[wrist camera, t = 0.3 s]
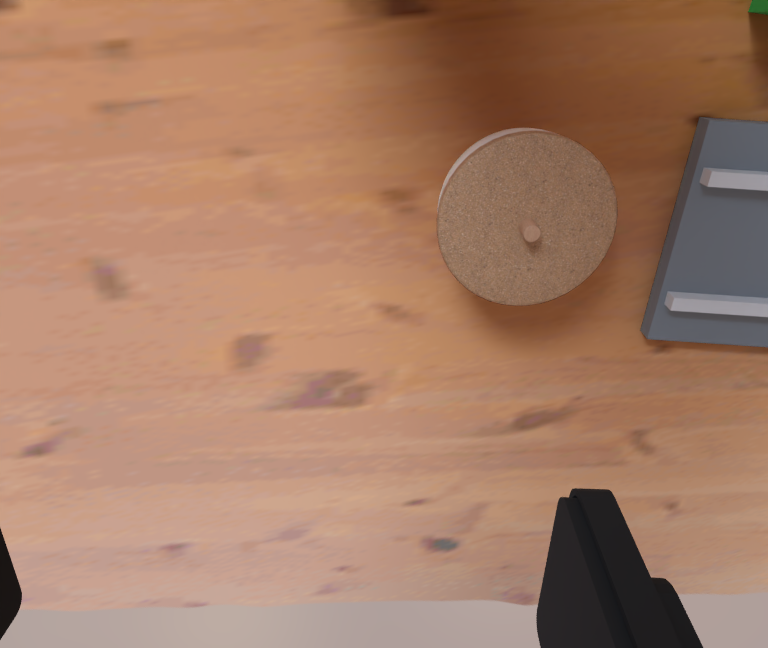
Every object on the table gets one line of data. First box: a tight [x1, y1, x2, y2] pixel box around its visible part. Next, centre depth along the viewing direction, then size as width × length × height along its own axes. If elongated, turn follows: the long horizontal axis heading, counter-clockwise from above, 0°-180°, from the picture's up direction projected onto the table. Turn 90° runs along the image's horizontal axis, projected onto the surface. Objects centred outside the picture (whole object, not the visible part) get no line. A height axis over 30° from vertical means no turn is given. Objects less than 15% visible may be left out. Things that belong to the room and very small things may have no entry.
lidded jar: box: [437, 128, 617, 306], centre depth 39 cm, size 11×11×9 cm
